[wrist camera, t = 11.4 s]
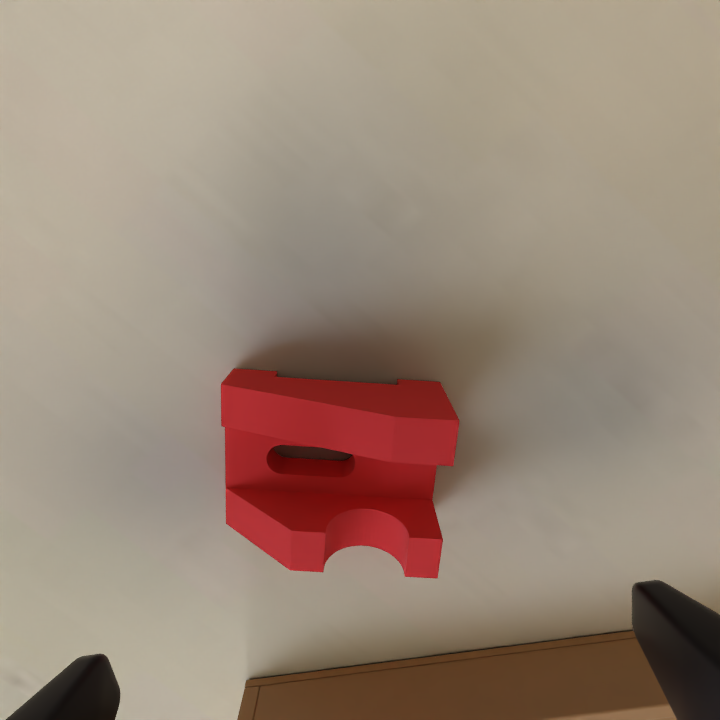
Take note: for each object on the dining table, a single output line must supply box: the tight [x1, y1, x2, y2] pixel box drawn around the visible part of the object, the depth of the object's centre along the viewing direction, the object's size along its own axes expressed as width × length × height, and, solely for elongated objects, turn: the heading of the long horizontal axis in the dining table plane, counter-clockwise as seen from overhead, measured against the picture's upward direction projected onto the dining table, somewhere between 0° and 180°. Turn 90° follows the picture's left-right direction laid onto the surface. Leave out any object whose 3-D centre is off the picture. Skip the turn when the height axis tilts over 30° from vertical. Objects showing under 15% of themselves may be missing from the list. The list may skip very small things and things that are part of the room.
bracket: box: [221, 368, 459, 578], centre depth 14 cm, size 6×5×3 cm
